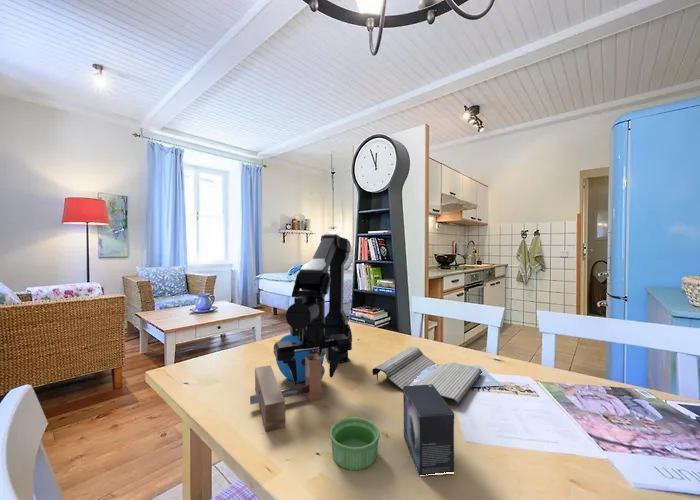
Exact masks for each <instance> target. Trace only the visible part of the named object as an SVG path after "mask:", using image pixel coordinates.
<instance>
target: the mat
mask: <svg viewBox="0 0 700 500" xmlns="http://www.w3.org/2000/svg"><path fill="white" fill-rule="evenodd" d="M436 364H437V368H436V369H435V370H434V371H433V372H431V373H430V374H429V375H428V376H427V377H425V378H424V379H423V380H421V381H420V382H419V383H417V384H415V385H430V384H433V386H434V387H435V388H436V390H437V391H438V392H439V394H440V395H441V396H442V398H443V399H448V400H451V401H455V403H456V404H457V405H459V404H461V402H462V400H463V399H464V398H465V397H466V396H467V394H468V393H469V391H470V390H471V389H472V387H474V385H473V384H474V383H476V382H477V381H478V380H479V378H480V377H481V376H480V374H481V373H482V372H483V371H482V369H481V368H479V367H475V366H470V365H467V364H461V363H457V362H447V363H445V362H443V363H437V362H435V361H433V360H432V359H431V358H429V357H428V356H427V355H425V354H424V353H423V352H422V351H421V349H420V348H419V347H416V346H409V347H408V348H406V349H405V350H402V351H401V352H399V353H397V354H396V355H394V356H393V357H391V358H389V359H388V360H385V361H384V362H382V363H380V364H379V365H377V366H375V367H374V368H372V371H371V372H372V373H371V374H372V376H376V381H377V382H379V373H380V372H383V373H384V374H385V376H386V377H387V379H388V380H390V382H391V383H392V384H394V385H395V386H396V387H397V388H398V389H401V390H402V391H403V386H410V384H411V383H412V382H413V381H414V379H416V378H417V376H419V375H420V374H421V372H422V371H423V370H425V369H426V368H427V367H430V366H432V365H434V366H436ZM482 374H483V373H482ZM479 376H480V377H479ZM478 377H479V378H478ZM477 379H478V380H477ZM476 380H477V381H476Z"/></svg>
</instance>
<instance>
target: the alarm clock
mask: <svg viewBox="0 0 700 500" xmlns="http://www.w3.org/2000/svg"><path fill="white" fill-rule="evenodd" d="M289 340H290V341H291V343H292V344H293V345H294V344H301V343H302V341H301V342H300V341H299V340H298V337H297V336H293V337H291V335H290V333H288V334H286V335H284V336H283V337H281V338H280V340H278V342H281V341H289ZM315 353H317V354H318V355H319V357H320V358H321V380H323V379H324V376H325V373H326V372H325V371H326V370H325V367H324V365H323V364H324V361H325V360H324V359H325V356H326V348H324V349H317V350H310V351H303V352H296V353H295V356H294V358H295V360H296V371H297V383H302V382H305V355H308V354H315ZM275 361H276V366H277V367H278V369H279V371H280V373H281V374H282V375H283V376H284V377H285V378H286V379H287V380H289V381H290V382H293V383H294V381H293V378H292V375H291V372H290V369H289V366H288V364H287V363H286V364H284V363H283V362H282V361H277V359H276V358H275Z"/></svg>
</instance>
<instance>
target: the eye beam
mask: <svg viewBox="0 0 700 500" xmlns="http://www.w3.org/2000/svg"><path fill="white" fill-rule="evenodd" d="M254 389H255V393H256V394H255V395H258V394H260V403H258V406H259V407H258V408H259V410H260V415H261V418H262V419H261V420H262V424H263V427H264V431H265V433H268V432H271V431H276V430H281V429H284V428H286V400H285V398H284V397H283V395H282V392H281V390H282V389H281V387H280V385H279V383H278V381H277V378H276V375H275V373H274V370H273V367H272V366H271V365H265V366H258V367H257V366H256V367H254Z"/></svg>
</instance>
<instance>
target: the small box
mask: <svg viewBox="0 0 700 500" xmlns="http://www.w3.org/2000/svg"><path fill="white" fill-rule="evenodd" d="M402 391H403V393H402V394H403V438H404V440H405V443H406V445H407V448H408V451H409V454H410V456H411V459H412V461H413V464H414V466H415V469H416V468H417V469H416V471H418V472H417V474H418V473H419V474H418V476H419V475H426V474H427V475H428V474H435V473H444V472H445V473H446V472H454V471H455V413H454V411H453V410H452V409H451V407H450V406H449V405H448V403H447V402H446V400H445V398H444V397H442V396H441V395H440V394H439V392H438V391H437V390H436V388H435V387H434V386H433V384H430V385H413V386H403V390H402Z"/></svg>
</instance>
